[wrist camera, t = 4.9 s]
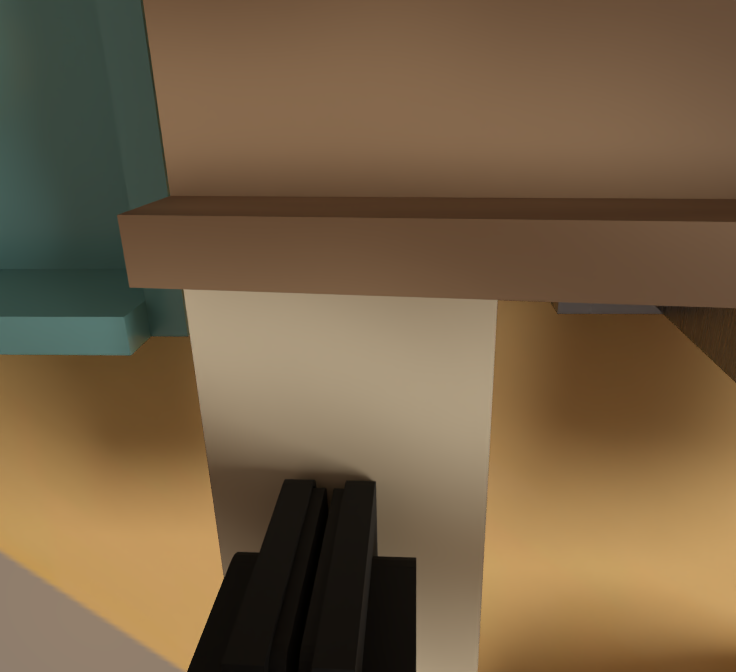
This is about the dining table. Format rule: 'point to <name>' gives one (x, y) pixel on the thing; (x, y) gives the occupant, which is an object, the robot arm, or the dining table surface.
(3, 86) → the teal tray
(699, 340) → the lever stand
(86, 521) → the dining table surface
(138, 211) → the walnut lever
